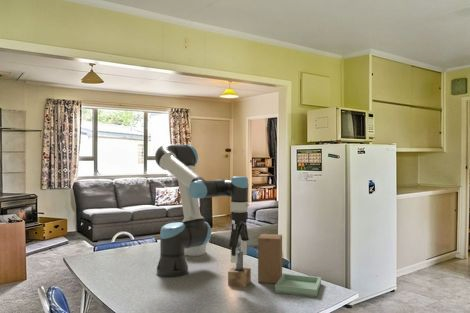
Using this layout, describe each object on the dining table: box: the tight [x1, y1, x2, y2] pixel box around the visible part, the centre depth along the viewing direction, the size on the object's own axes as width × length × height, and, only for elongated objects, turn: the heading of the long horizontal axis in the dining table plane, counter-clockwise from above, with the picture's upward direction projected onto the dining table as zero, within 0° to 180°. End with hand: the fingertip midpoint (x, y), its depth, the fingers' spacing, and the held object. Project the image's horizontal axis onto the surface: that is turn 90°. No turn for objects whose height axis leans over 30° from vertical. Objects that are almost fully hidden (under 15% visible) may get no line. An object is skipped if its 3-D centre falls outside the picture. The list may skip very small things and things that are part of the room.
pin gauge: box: [235, 250, 244, 271], centre depth 169 cm, size 3×3×14 cm
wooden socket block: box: [227, 266, 252, 288], centre depth 169 cm, size 8×8×6 cm
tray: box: [274, 273, 322, 298], centre depth 163 cm, size 17×17×3 cm
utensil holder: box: [184, 243, 207, 257], centre depth 223 cm, size 15×15×18 cm
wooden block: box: [257, 233, 283, 284], centre depth 174 cm, size 10×10×20 cm
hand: (239, 258), depth 169 cm, fingers open, 13 cm apart
